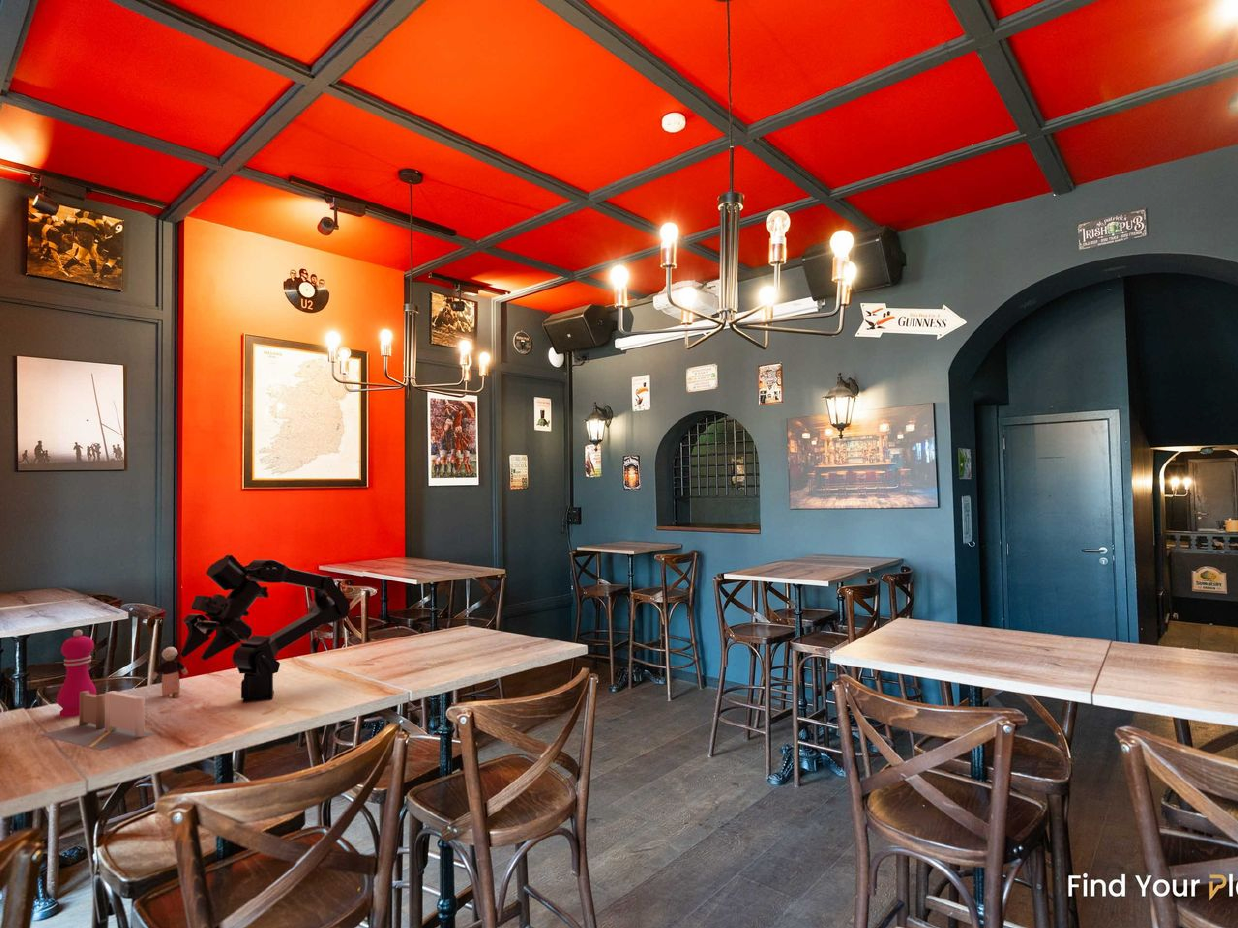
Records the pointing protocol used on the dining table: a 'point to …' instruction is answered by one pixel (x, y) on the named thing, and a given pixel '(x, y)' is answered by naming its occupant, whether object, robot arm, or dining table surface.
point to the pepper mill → (75, 673)
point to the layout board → (93, 726)
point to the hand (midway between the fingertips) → (192, 657)
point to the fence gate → (125, 712)
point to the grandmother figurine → (170, 673)
